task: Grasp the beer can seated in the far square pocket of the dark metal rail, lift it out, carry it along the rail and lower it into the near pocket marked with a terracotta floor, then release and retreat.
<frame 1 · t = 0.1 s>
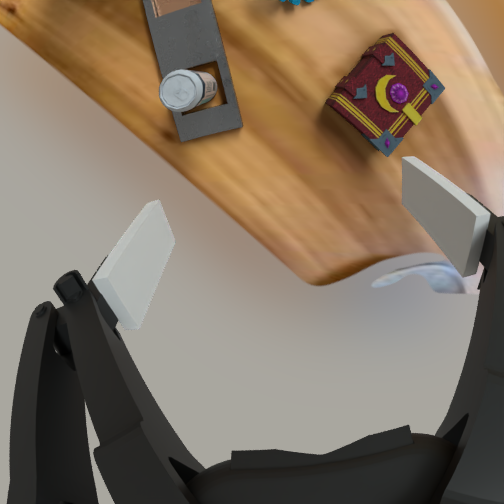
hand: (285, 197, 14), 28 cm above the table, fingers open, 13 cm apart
decorative book: (382, 88, 34), on the table
beer can: (201, 87, 35), resting in rail
rail: (187, 38, 30), on the table
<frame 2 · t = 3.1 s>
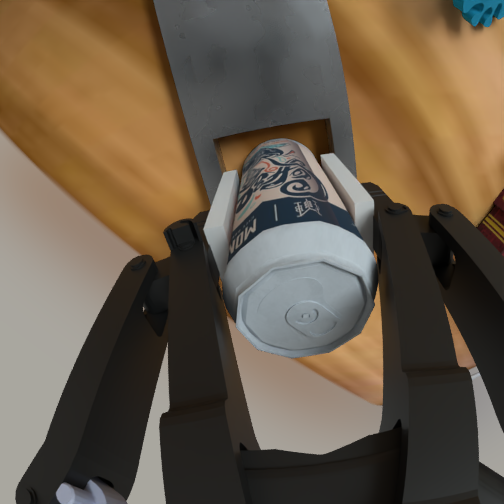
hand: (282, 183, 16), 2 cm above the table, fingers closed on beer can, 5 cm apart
beer can: (280, 172, 18), resting in rail, touching gripper
rail: (253, 49, 13), on the table
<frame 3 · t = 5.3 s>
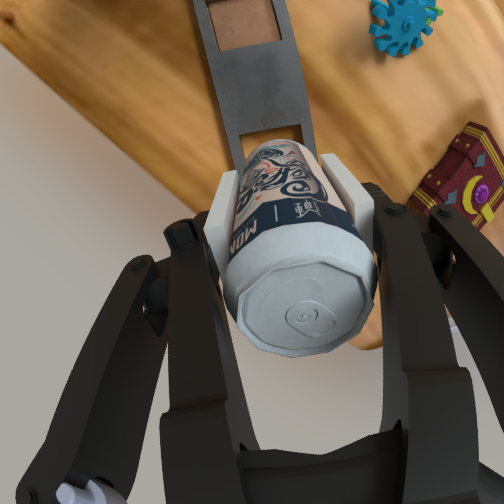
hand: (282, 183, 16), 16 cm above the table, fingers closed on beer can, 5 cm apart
decorative book: (460, 179, 31), on the table
beer can: (280, 172, 18), point 14 cm above the table, touching gripper
rail: (260, 86, 26), on the table
gear: (393, 24, 21), on the table
when the fingers open (3 cm above the table, at t = 7.9 s): beer can stays where it is, resting on rail.
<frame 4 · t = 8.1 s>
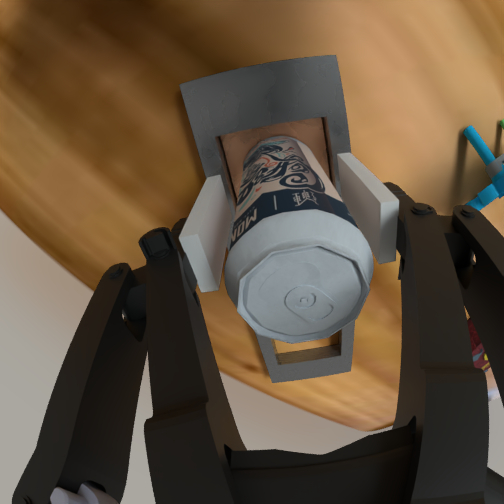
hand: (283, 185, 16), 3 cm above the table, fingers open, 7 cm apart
decorative book: (488, 318, 28), on the table
beer can: (279, 168, 18), resting on rail
rail: (296, 266, 23), on the table
gear: (478, 162, 17), on the table
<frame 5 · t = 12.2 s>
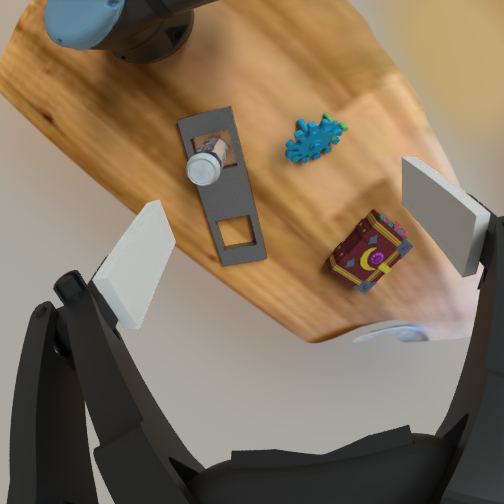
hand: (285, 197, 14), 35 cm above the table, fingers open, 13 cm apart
decorative book: (367, 244, 57), on the table
beer can: (215, 150, 47), resting on rail
rail: (226, 191, 51), on the table
gear: (312, 135, 45), on the table
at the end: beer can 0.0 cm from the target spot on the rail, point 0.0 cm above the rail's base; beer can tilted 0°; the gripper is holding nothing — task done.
